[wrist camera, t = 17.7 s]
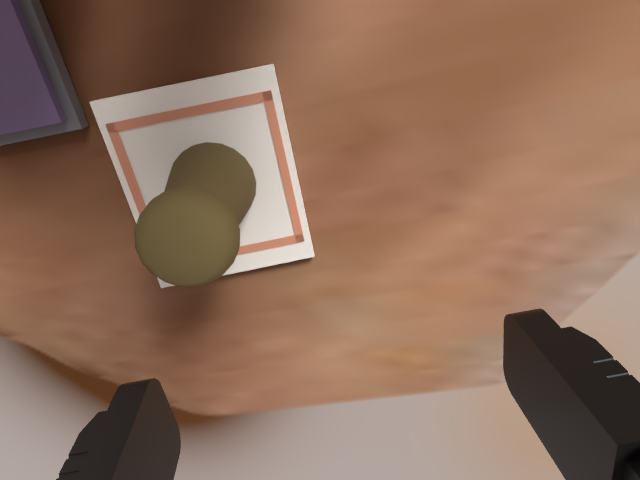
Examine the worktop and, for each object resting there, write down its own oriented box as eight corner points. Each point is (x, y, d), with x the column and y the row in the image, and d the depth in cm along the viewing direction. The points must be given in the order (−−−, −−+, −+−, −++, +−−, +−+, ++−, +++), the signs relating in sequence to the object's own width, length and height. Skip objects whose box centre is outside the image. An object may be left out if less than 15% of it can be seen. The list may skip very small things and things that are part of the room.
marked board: (95, 100, 30) (88, 102, 29) (273, 63, 30) (273, 64, 29) (164, 281, 35) (160, 289, 34) (313, 251, 35) (314, 257, 34)
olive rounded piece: (161, 145, 30) (101, 196, 20) (251, 139, 30) (237, 186, 20) (177, 228, 33) (132, 311, 23) (260, 221, 33) (253, 300, 23)
